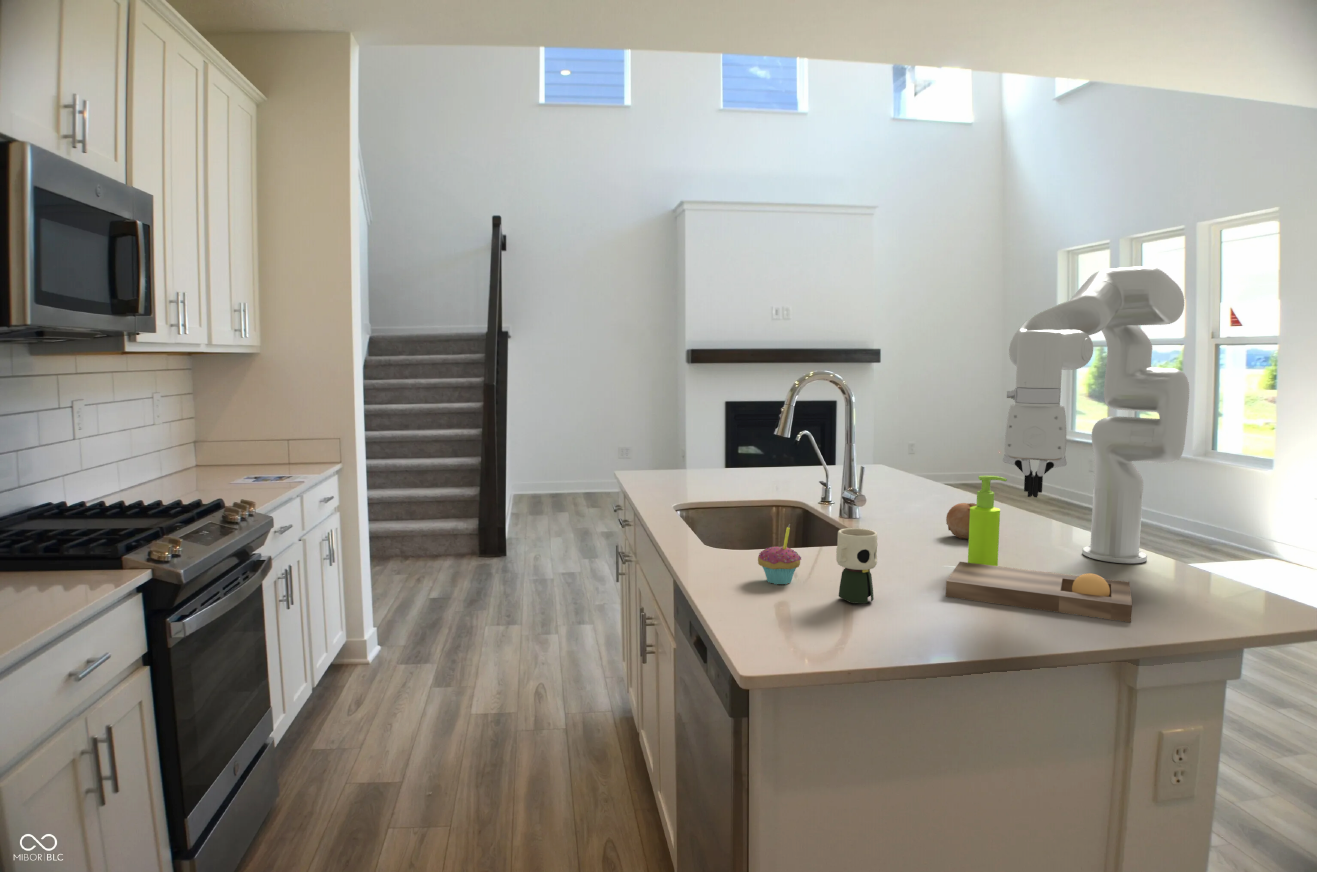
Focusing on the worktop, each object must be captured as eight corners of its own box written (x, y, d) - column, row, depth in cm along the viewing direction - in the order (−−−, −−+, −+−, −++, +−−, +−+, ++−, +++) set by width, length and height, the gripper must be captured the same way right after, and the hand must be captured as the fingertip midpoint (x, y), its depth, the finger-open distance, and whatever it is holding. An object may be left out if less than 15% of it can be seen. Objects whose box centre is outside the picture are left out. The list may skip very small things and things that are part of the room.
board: (959, 575, 162) (959, 561, 162) (1128, 597, 148) (1129, 581, 148) (945, 596, 149) (946, 580, 148) (1131, 622, 134) (1132, 605, 134)
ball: (1092, 576, 139) (1099, 563, 143) (1061, 588, 143) (1069, 575, 147) (1113, 605, 138) (1120, 591, 142) (1082, 617, 142) (1089, 602, 146)
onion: (980, 552, 194) (998, 519, 190) (943, 541, 194) (961, 509, 189) (971, 530, 203) (988, 499, 198) (936, 520, 202) (952, 488, 198)
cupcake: (805, 578, 160) (806, 520, 159) (793, 589, 153) (794, 529, 152) (764, 573, 164) (765, 517, 163) (751, 584, 156) (752, 525, 155)
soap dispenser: (1005, 573, 164) (1009, 478, 162) (970, 572, 165) (974, 477, 163) (999, 566, 170) (1003, 474, 168) (965, 564, 171) (968, 473, 169)
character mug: (852, 611, 140) (853, 539, 138) (821, 601, 145) (822, 532, 144) (890, 600, 146) (892, 531, 145) (859, 591, 152) (861, 524, 151)
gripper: (991, 397, 146) (987, 495, 147) (1083, 399, 138) (1077, 503, 140) (996, 395, 152) (992, 489, 154) (1084, 397, 145) (1078, 496, 147)
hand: (1032, 495), depth 147 cm, fingers closed
